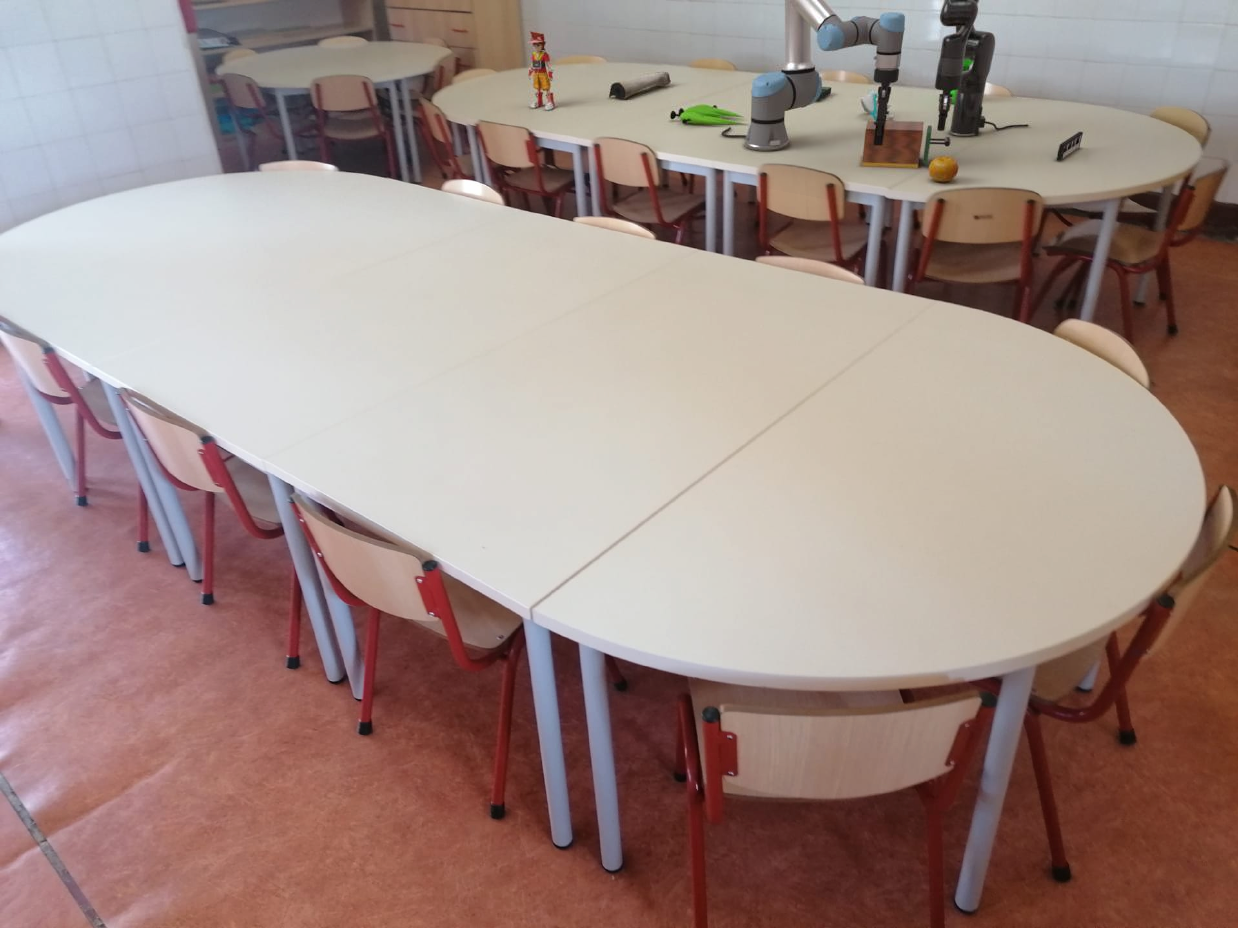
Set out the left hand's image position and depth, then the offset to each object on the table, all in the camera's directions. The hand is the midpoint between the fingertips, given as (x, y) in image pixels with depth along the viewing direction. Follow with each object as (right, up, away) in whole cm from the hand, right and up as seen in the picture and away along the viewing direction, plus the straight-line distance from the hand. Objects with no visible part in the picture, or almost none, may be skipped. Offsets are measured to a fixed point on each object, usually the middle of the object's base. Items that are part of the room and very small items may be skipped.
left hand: (879, 140), depth 293 cm
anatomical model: (+13, +27, +50) cm, 58 cm away
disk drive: (-4, +47, +80) cm, 93 cm away
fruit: (+15, -18, -15) cm, 28 cm away
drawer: (+11, -6, +1) cm, 12 cm away
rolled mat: (-76, +59, +104) cm, 141 cm away
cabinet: (+5, -6, +3) cm, 8 cm away
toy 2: (-49, +28, +57) cm, 80 cm away
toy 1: (-118, +46, +90) cm, 155 cm away
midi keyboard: (+62, -5, 0) cm, 62 cm away
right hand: (+18, +1, -7) cm, 19 cm away
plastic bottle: (+48, +37, +62) cm, 86 cm away
